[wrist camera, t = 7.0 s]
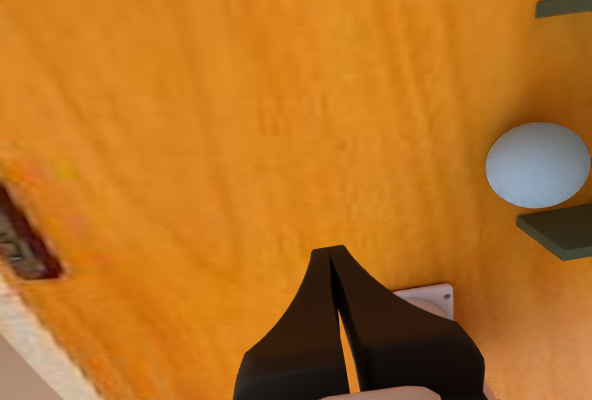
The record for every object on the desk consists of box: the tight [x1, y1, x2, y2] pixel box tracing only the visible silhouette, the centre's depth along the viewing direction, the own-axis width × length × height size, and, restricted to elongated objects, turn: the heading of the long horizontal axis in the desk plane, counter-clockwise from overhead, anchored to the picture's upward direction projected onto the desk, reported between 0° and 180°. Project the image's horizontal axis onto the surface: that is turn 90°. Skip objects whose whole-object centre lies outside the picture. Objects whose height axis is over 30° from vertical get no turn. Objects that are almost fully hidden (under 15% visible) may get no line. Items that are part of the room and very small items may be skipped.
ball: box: [485, 122, 591, 208], centre depth 20 cm, size 5×5×5 cm
